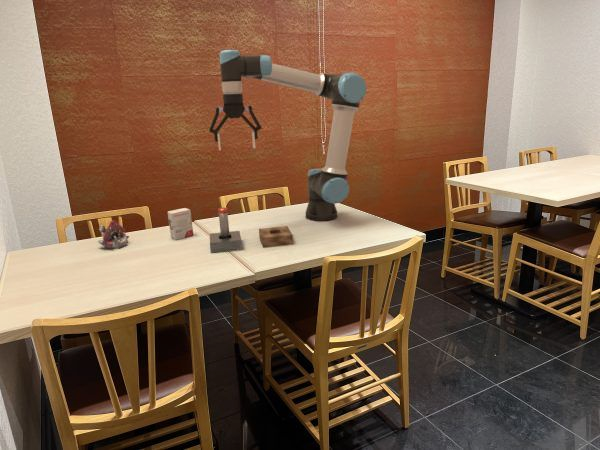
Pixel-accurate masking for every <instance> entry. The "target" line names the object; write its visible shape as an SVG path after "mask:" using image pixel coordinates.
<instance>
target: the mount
mask: <svg viewBox="0 0 600 450" xmlns="http://www.w3.org/2000/svg"><path fill="white" fill-rule="evenodd" d="M258 233H259V236H258V238H259V241H260V243H261V247H262V248H272V247H281V246H290V244H292V245H294V239H293V233H292V232H291V230H290V228H289V226H288V225H284V226H283V225H282V226H273V227H263V228H258Z"/></svg>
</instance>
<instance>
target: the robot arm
mask: <svg viewBox="0 0 600 450" xmlns="http://www.w3.org/2000/svg"><path fill="white" fill-rule="evenodd" d="M219 66H220V67H219V68H220V76H221V77H220V78H221V88H222V89H221V91H222V93H223V95H222V101H223V102H222V103H223V107H218V106H216V107H215V114H214V117H213V119H212V122H211V125H210V126H209V132H210V133H213V134H214V141H215V142H216V143H218V151H221V150H222V148H221V136H220V132H219V131H220V129H221V128H222V127H223V125H224V124H225V123H226V121H227V120H228V119H231V120H232V119H240V118H242V120H244V122H245V123H246V124H247V125H248V126H250V129H252V131H251V138H252V139H251V141H252V149H256V140H258V131H260V130H261V129H262V126H261V124H260V122H259V120H258V119H257V117H256V115H255V113H254V112H253V108H252V106H251V105H247V106H244V97H243V93H242V92H243V85H242V84H243V83H242V77H243V78H247V79H250V78H251V79H254V80H260V81H264V82H268V83H273V84H276V85H282V86H285V87H290V88H293V89H297V90H298V89H299V90H303V91H308V92H312V93H315V96H318V97H322V98H325V99H329V100H331V106H332V108H333V115H332V121H331V128H330V135H329V142H328V147H327V154H326V160H325V166H324V167H322V168H313V169H312V168H311V169H309V170H308V172H307V186H308V187H307V188H308V189H307V190H308V193H307V194H308V203H307V206H306V209H305V219H307V220H310V221H313V222H314V221H315V222H324V221H325V222H326V221H332V220H334V219H337V218H338V209H337V206H336V205H335V204H340V203H341V202H343V201H344V200H345V199H346V198H347V197H348V195H349V193H350V185H349V183H348V176H349V175H348V174H349V173H348V172H347V170H346V166H347V158H348V154H349V153H348V152H349V147H350V143H351V142H350V141H351V136H352V129H353V124H354V117H355V113H356V112H357V111H358V110H360V103H361V101H362V100H364V98H365V97H366V94H367V83H366V81H365V80H364V78H363V77H362V75H360V74H358V73H356V72H344V73H337V74H336V73H335V74H329V73H324V72H321V73H319V74H316V73H313V72H309V71H305V70H302V69H301V70H300V69H297V68H294V67H289V66H285V65H280V64H276V63H273V61H272V58H271V57H270V56H269V55H265V54H259V55H241V54H240V51H239V50H238V49H225V50H221V51H220V52H219ZM245 110H246V111H247V112H248V113H249V115H250V116H251V118H252V119H253V121H254V123H255V125H256V126H255V125H254V124H253V123H252V122H251V121H250V120H249V119H248V118H247V117H246V116H245V115H244V113H245ZM222 112H223V113H225V114H224V116H223V118H222V119H221V121H220V122H219V124H218V125H217V126H216V128H215V125H216V123H217V120H218V118H219V114H221V113H222ZM214 128H215V129H214Z"/></svg>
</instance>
